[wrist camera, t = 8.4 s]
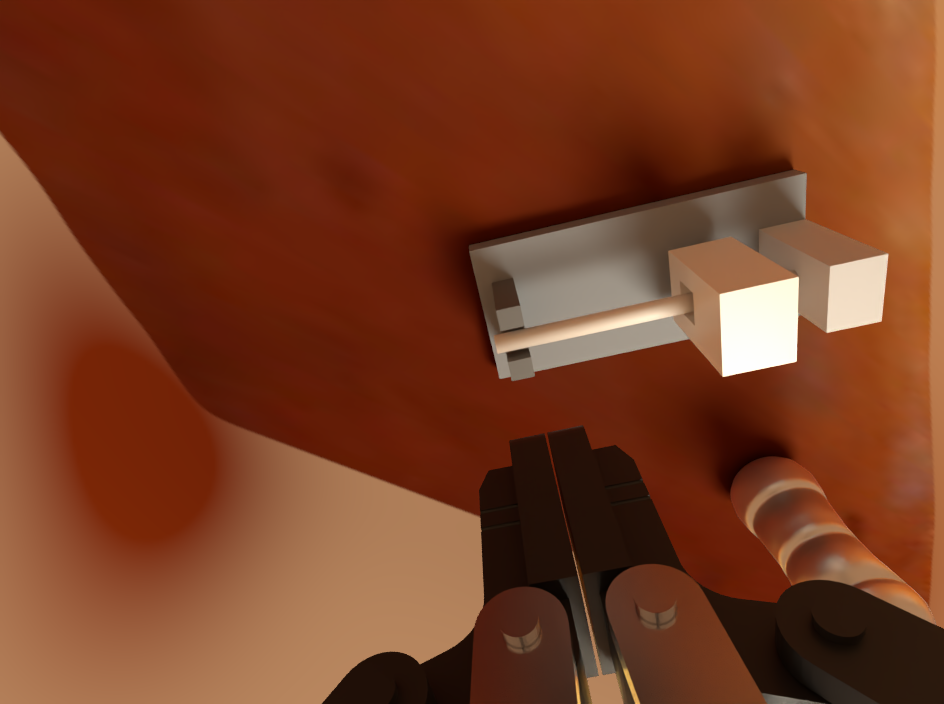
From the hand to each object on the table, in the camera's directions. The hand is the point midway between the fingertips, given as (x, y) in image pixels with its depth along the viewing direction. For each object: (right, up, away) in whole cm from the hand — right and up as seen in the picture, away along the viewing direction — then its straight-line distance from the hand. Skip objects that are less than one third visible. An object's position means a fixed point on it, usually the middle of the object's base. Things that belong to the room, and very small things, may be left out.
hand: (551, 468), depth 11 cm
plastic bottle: (+23, -8, +37) cm, 44 cm away
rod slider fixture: (+10, +8, +29) cm, 31 cm away
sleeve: (+14, +7, +26) cm, 30 cm away
